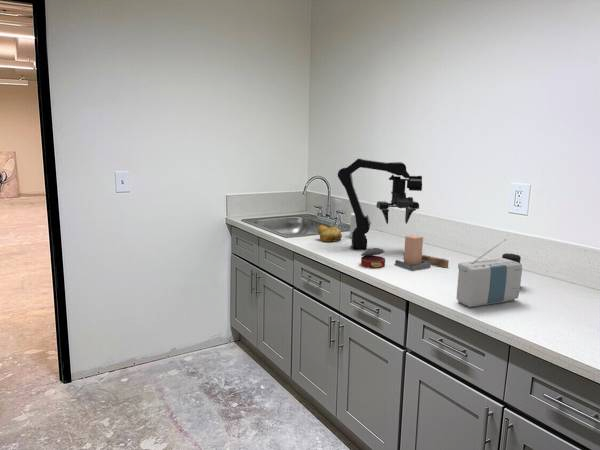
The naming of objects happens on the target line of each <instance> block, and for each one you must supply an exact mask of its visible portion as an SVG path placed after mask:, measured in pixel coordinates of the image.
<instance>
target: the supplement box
mask: <svg viewBox="0 0 600 450" xmlns="http://www.w3.org/2000/svg"><path fill="white" fill-rule="evenodd" d="M364 215H365V216H367V215H366V214H365V213H364ZM349 221H350V222H349V223H350V224H349V229H350V230H349V238H350V239H351V240H352V235H353V234H352V232H353V231H354V229H355V228H356V227H357V225H356V218H355V214H354V212H350V220H349Z"/></svg>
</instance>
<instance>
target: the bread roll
mask: <svg viewBox="0 0 600 450" xmlns="http://www.w3.org/2000/svg"><path fill="white" fill-rule="evenodd" d="M317 234H318V235H319V239H320V241H322V242H337V241H339V240H341V239H342V238H343V233H341V229H340V228H338V227H337V226H330V227H328V226H326V225H323V224H320V225H318V228H317Z"/></svg>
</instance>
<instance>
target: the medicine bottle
mask: <svg viewBox="0 0 600 450" xmlns="http://www.w3.org/2000/svg"><path fill="white" fill-rule="evenodd" d="M501 258H505V259H508V260H512V261H515V262H518V263H521V258H522V257H521V256H520V255H519V254H518V253H512V252H511V253H510V252H506V253H503V254H502V255H501ZM522 274H523V273H522ZM522 274H521V276H522Z"/></svg>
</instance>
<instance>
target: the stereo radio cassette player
mask: <svg viewBox="0 0 600 450" xmlns="http://www.w3.org/2000/svg"><path fill="white" fill-rule="evenodd" d="M505 241H507V239H506V238H504V239H503V241H500V242H499V243H498V244H496V245H495V246H493V247H492V248H490V249H489V250H487V251H486V252H484V253H483V254H482V255H480V256H479V257H478V258H476V259H475V260H473V261H466V262H464V261H463V262H458V264H457V268H458V273H457V275H458V277H457V286H456V287H457V288H456V301H457V302H459V303H461V304H462V305H464V306H466V307H468V308H469V307H471V308H474V307H481V306H486V305H487V306H488V305H493V304H498V303H506V302H513V301H515V300H516V299H517V300H518V298H519V295H520V291H521V284H522V283H521V282H522V275H521V274H523V266H522V265H523V264H522V263H521V262H520V263H518V262H515V261H512V260H508V259H505V258H502V257H500V258H492V259H484V260H483V259H482V258H483V257H484V256H486V255H488V254H489V253H491V251H493V250H494V249H496V247H497V248H498V246H499V245H501V244H502V243H503V242H505ZM480 259H482V260H480Z"/></svg>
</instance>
